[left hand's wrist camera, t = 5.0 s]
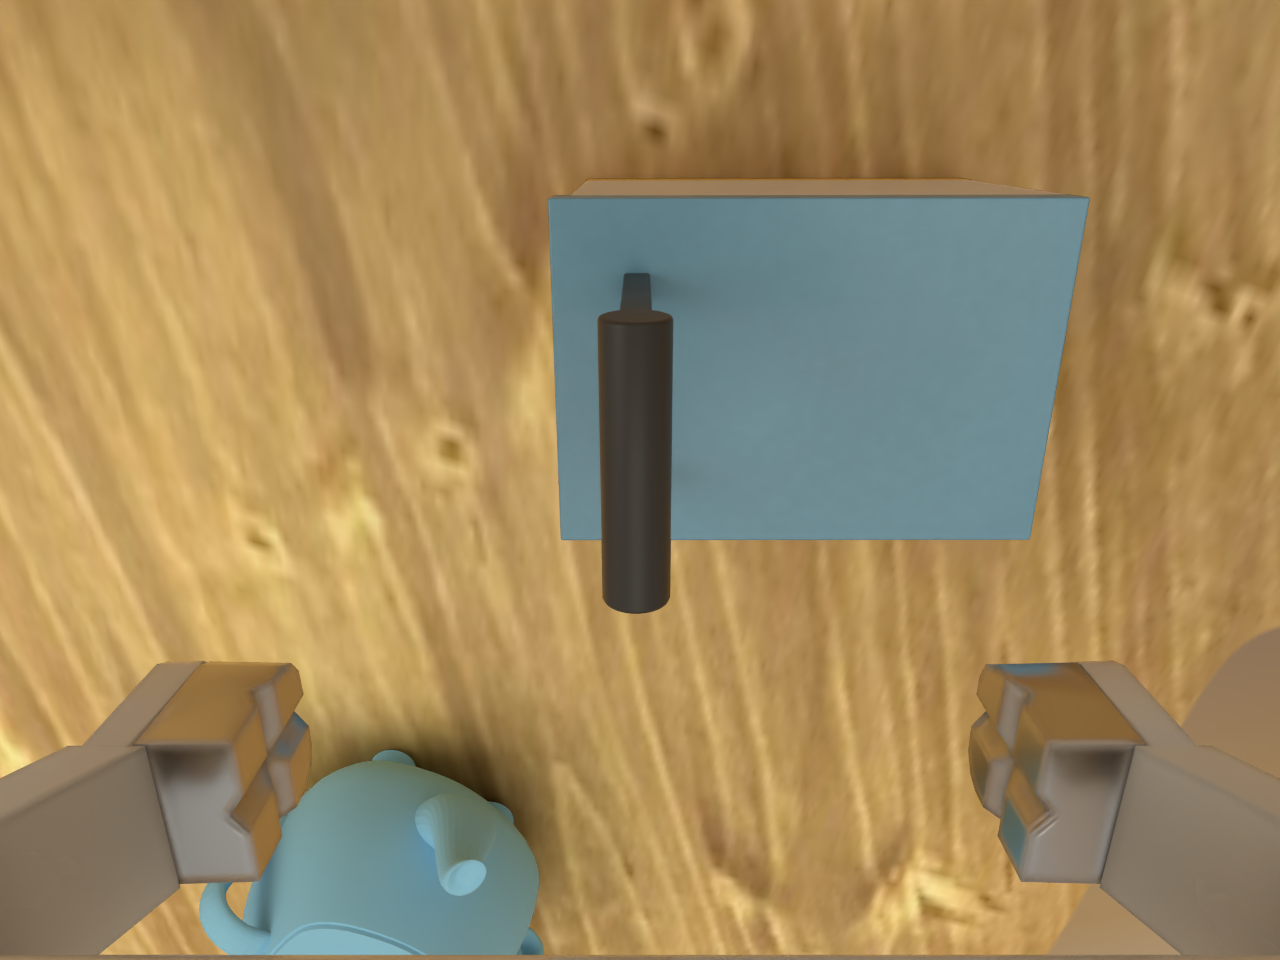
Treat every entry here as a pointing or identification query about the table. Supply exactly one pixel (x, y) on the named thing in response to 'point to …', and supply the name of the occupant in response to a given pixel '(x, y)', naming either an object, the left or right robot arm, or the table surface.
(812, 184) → the chest
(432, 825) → the teapot
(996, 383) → the lid
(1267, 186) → the table surface
